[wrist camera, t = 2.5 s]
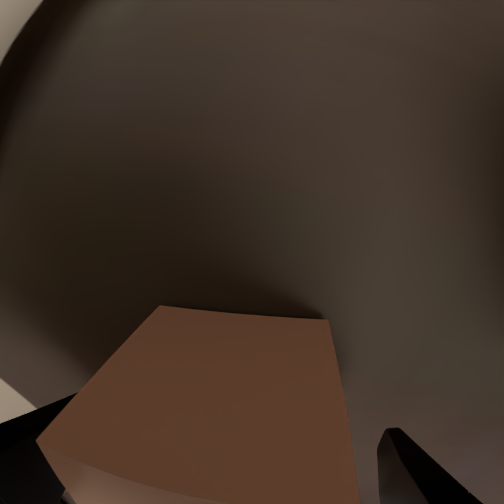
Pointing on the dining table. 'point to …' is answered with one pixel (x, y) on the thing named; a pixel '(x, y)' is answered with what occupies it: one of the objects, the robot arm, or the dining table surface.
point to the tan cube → (210, 416)
